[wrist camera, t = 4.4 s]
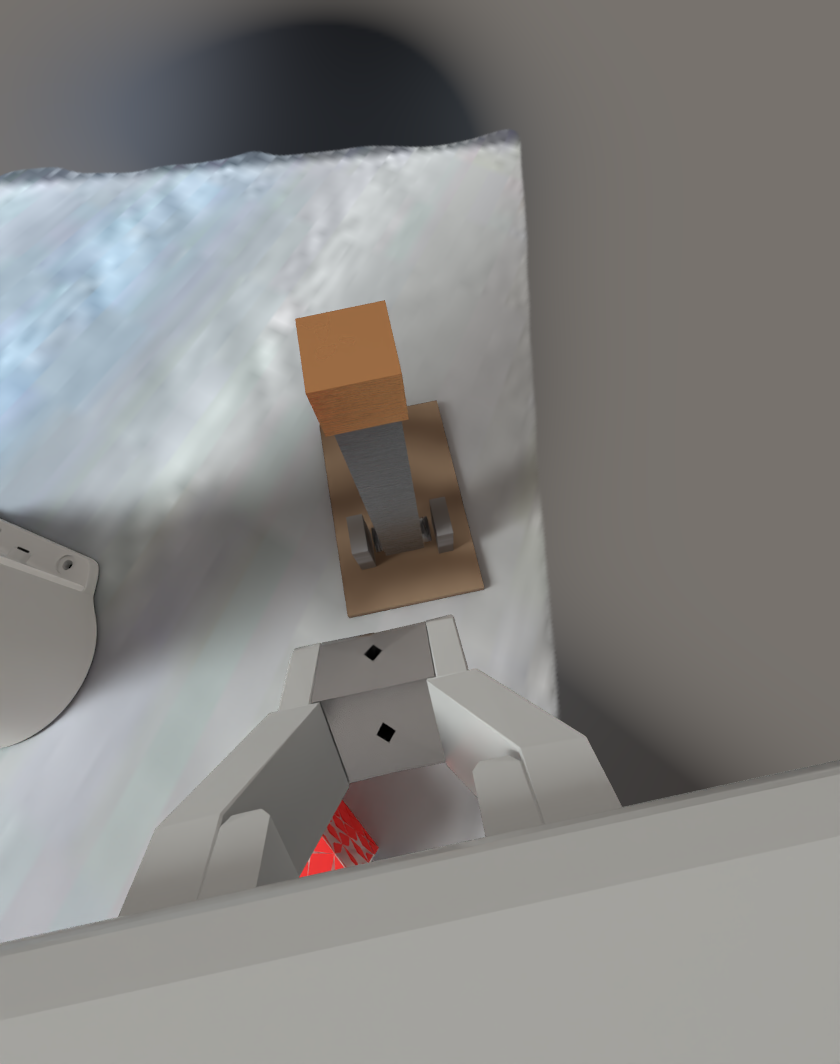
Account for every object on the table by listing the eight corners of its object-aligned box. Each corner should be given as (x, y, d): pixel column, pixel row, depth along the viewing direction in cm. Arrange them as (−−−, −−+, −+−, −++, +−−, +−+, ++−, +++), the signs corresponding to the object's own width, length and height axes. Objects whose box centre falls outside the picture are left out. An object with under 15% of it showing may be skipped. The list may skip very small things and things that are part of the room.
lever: (434, 553, 39) (412, 371, 18) (379, 565, 39) (295, 395, 18) (425, 512, 40) (394, 298, 19) (372, 523, 40) (285, 320, 19)
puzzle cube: (309, 755, 36) (271, 766, 29) (379, 847, 34) (357, 885, 26) (221, 839, 34) (157, 873, 27) (288, 942, 32) (238, 1010, 25)
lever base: (483, 589, 39) (487, 573, 35) (349, 618, 39) (335, 605, 35) (436, 405, 46) (435, 370, 41) (321, 429, 46) (306, 397, 41)
